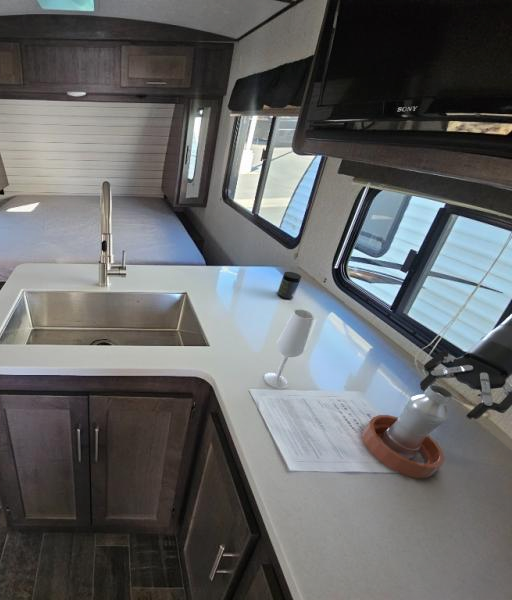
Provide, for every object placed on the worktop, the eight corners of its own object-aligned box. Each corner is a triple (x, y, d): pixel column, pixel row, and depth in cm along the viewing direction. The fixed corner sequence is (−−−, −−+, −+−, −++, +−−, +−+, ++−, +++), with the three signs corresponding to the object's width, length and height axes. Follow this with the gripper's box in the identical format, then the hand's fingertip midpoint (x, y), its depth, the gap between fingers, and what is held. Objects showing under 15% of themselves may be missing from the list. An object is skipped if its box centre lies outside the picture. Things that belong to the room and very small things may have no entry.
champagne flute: (292, 389, 93) (323, 321, 81) (270, 388, 93) (297, 320, 81) (281, 372, 99) (309, 307, 87) (260, 372, 99) (284, 306, 86)
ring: (412, 437, 80) (424, 423, 78) (443, 490, 69) (458, 475, 66) (352, 423, 84) (361, 408, 81) (371, 471, 72) (383, 456, 70)
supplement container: (290, 301, 137) (298, 280, 132) (274, 295, 141) (281, 274, 136) (295, 296, 142) (303, 275, 136) (280, 291, 146) (287, 270, 140)
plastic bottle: (374, 433, 80) (417, 375, 70) (408, 447, 77) (457, 387, 67) (377, 454, 75) (423, 394, 65) (413, 468, 73) (467, 408, 62)
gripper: (546, 378, 67) (484, 432, 68) (460, 339, 78) (409, 386, 79) (554, 365, 62) (487, 423, 64) (461, 325, 73) (407, 375, 75)
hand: (444, 402), depth 72 cm, fingers open, 8 cm apart
